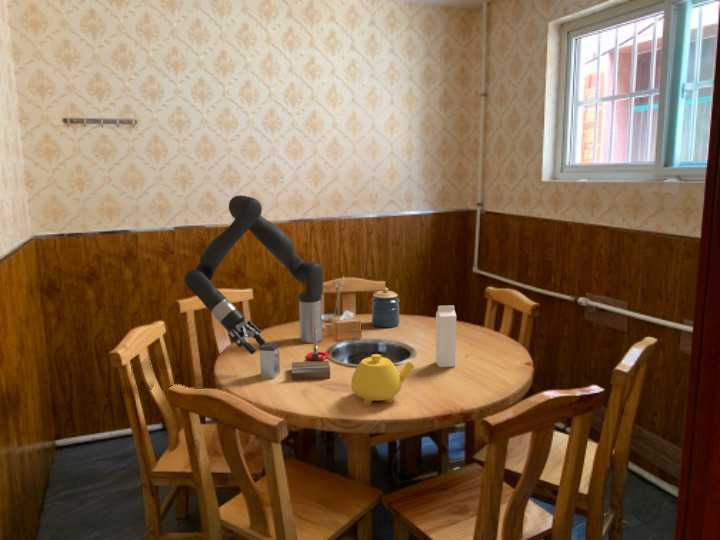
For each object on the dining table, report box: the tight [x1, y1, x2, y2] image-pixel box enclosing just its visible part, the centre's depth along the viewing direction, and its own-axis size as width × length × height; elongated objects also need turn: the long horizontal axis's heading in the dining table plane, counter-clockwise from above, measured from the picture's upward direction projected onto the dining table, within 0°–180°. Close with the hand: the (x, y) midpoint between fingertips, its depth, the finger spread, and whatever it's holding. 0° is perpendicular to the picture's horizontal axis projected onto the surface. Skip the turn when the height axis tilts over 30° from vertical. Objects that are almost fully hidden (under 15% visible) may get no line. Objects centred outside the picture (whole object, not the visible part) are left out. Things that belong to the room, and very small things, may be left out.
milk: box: [435, 305, 457, 368], centre depth 198 cm, size 6×6×22 cm
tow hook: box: [306, 327, 330, 362], centre depth 209 cm, size 8×13×9 cm
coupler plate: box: [291, 360, 331, 381], centre depth 192 cm, size 11×13×4 cm
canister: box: [371, 287, 401, 328], centre depth 254 cm, size 13×13×18 cm
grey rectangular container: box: [258, 342, 281, 379], centre depth 189 cm, size 6×5×11 cm
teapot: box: [350, 353, 415, 405], centre depth 170 cm, size 20×16×14 cm
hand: (259, 348), depth 190 cm, fingers open, 8 cm apart
